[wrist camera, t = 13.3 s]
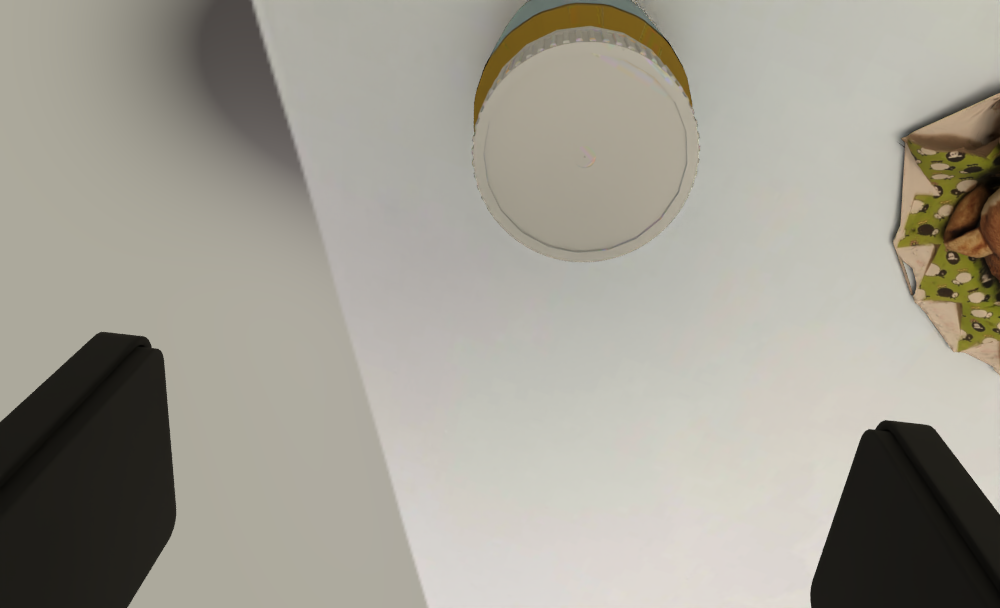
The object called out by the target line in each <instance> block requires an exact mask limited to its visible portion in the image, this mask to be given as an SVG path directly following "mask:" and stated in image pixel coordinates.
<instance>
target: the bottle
mask: <svg viewBox="0 0 1000 608" xmlns="http://www.w3.org/2000/svg"><path fill="white" fill-rule="evenodd" d="M693 115H694V110H693V108H692V100H691V95H690V90H689V85H688V80H687V76H686V74H685V71H684V69H683V66H682V64H681V63H680V61H679V59H678V57H677V56H676V54H675V52H674V50H673V49H672V47H671V45H670V44H669V42H668V41H667V40H666V39H665V38H664V36H663V35H662V34H661V33H660V32H659V30H658V29H657V28H656V27H655V26H654V24H653V23H652V22H651V21H650V20H649V18H648V17H647V16H646V15H645V14H644V12H643V11H642V10H641V9H640V8H639V7H638V6H636V5H635V4H634V3H633V2H632V1H631V0H530V1H529V2H527V3H526V4H525V5H523V6H522V7H521V8H520V9H519V10H518V12H517V13H516V14H515V16H514V17H513V18H512V20H511V21H510V22H509V24H508V25H507V26H506V28H505V30H504V32H503V33H502V35H501V37H500V39H499V41H498V43H497V45H496V46H495V48H494V50H493V52H492V54H491V56H490V57H489V59H488V61H487V63H486V65H485V67H484V70H483V73H482V76H481V79H480V82H479V85H478V87H477V91H476V95H475V101H474V135H473V139H472V141H473V142H474V145H473V147H472V154H473V161H472V165H473V167H474V170H475V172H474V177H475V178H476V180H477V187H478V189H479V190H480V193H481V195H482V196H481V198H482V200H483V201H484V202H485V204H486V206H487V209H488V210H489V211H490V213H491V214H492V216H493V217H494V219H495V220H496V221H497V222H498V223H499V225H500V226H501V227H502V228H503V229H504V230H505V231H506V232H507V233H508V234H509V235H510V236H512V237H513V238H514V239H515V240H517V241H518V242H520V243H521V244H523V245H524V246H526V247H528V248H529V249H531V250H533V251H535V252H537V253H540V254H542V255H545V256H548V257H551V258H555V259H559V260H564V261H571V262H595V261H603V260H608V259H612V258H616V257H619V256H622V255H625V254H627V253H630V252H632V251H634V250H636V249H638V248H640V247H641V246H643V245H645V244H646V243H648V242H649V241H651V240H652V239H654V238H655V237H656V236H657V235H659V234H660V233H661V232H662V231H663V230H664V229H665V228H666V227H667V226H668V225H669V224H670V223H671V222H672V220H673V219H674V218H675V217H676V215H677V214H678V213H679V211H680V210H681V208H682V207H683V205H684V203H685V201H686V199H687V198H688V196H689V193H690V191H691V188H692V187H693V184H694V183H693V182H694V179H695V176H696V174H697V165H698V163H699V158H698V155H699V151H700V146H699V144H698V139H699V138H700V137H699V133H698V131H697V128H696V127H697V125H698V124H697V120H696V119H695V117H694V116H693Z"/></svg>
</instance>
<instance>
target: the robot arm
mask: <svg viewBox="0 0 1000 608" xmlns="http://www.w3.org/2000/svg"><path fill="white" fill-rule="evenodd" d="M168 417H169V416H168V404H167V392H166V380H165V368H164V358H163V354H162V352H161V351H160V350H159V349H154V348H151V344H150V342H149V340H148V339H147V338H146V337H143V336H134V335H126V334H117V333H108V332H100V333H98V334H96V335H95V336H94V337H93V338H92V339H91V340H90V341H88V342H87V343H86V344H85V345H84V346H83V347H82V348H81V349H80V350H79V351H78V352H77V353H75V354H74V355H73V356H72V357H71V358H70V359H69V360H68V361H67V362H66V363H64V364H63V365H62V366H61V367H60V368H59V369H58V370H57V371H56V372H55V373H54V374H52V375H51V376H50V377H49V378H48V379H47V380H46V381H45V382H44V383H43V384H42V385H41V386H39V387H38V388H37V389H36V390H35V391H34V392H33V393H32V394H31V395H30V396H29V397H27V398H26V399H25V400H24V401H23V402H22V403H21V404H20V405H19V406H17V408H15V409H14V410H13V411H12V412H11V413H10V414H9V415H8V416H7V417H6V418H4V419H3V420H2V421H1V422H0V608H127V607H128V606H129V604H130V602H131V601H132V599H133V597H134V596H135V594H136V592H137V590H138V589H139V588H140V586H141V584H142V583H143V581H144V579H145V578H146V576H147V574H148V573H149V571H150V570H151V568H152V566H153V565H154V563H155V562H156V560H157V558H158V556H159V555H160V553H161V552H162V550H163V548H164V547H165V545H166V544H167V542H168V540H169V538H170V536H171V534H172V531H173V529H174V525H175V519H176V501H175V489H174V477H173V464H172V452H171V440H170V428H169V418H168ZM810 597H811V608H1000V514H999V513H998V512H997V510H996V509H995V508H994V507H993V505H992V504H991V503H990V501H989V500H988V499H987V497H986V496H985V495H984V493H983V492H982V491H981V489H980V488H979V487H978V486H977V484H976V483H975V482H974V480H973V479H972V478H971V476H970V475H969V474H968V472H967V471H966V470H965V468H964V467H963V466H962V464H961V463H960V462H959V461H958V459H957V458H956V457H955V455H954V454H953V453H952V451H951V450H950V449H949V447H948V446H947V445H946V443H945V442H944V441H943V439H942V438H941V437H940V436H939V434H938V433H937V432H936V430H935V429H934V428H932V427H931V426H929V425H923V424H914V423H906V422H897V421H888V420H885V421H882V422H881V423H880V424H879V425H878V426H877V427H876V429H875V430H871V429H869V430H866V431H865V432H864V434H863V435H862V437H861V440H860V442H859V445H858V448H857V451H856V454H855V457H854V460H853V463H852V466H851V469H850V472H849V475H848V478H847V481H846V484H845V487H844V490H843V493H842V495H841V498H840V501H839V504H838V507H837V510H836V513H835V516H834V519H833V522H832V525H831V528H830V531H829V534H828V537H827V540H826V543H825V546H824V549H823V552H822V555H821V557H820V560H819V563H818V566H817V569H816V572H815V575H814V578H813V581H812V585H811V593H810Z"/></svg>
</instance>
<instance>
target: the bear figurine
mask: <svg viewBox="0 0 1000 608" xmlns="http://www.w3.org/2000/svg"><path fill="white" fill-rule="evenodd" d="M901 139H902V140H903V141H904V142H905V158H904V175H903V192H902V208H901V225H900V228H899V230H898V232H897V234H896V236H895V238H894V240H893V244H894V247H895V250H896V253H897V255H898V258H899V261H900V264H901V267H902V270H903V273H904V276H905V279H906V282H907V284H908V287H909V290H910V293H911V295H913V292H912V289H911V286H910V282H909V279H908V276H907V273H906V270H905V267H904V264H903V261H904V262H905V263H907V264H908V265H909V266H910V267H911V268H912V269H913V272H914V275H915V279H916V282H917V284H916V291H915V295H914V296H913V298H914V301H915V303H917V304H918V305H919V306H920V307H921V308H922V309H923V310H924V311H925V313H926V314H927V315H928V317H929V318H930V320H931V321H932V322H933V324H934V325H935V327H936V328H937V329H938V331H939V332H940V334H941V335H942V336H943V338H944V339H945V341H946V342H947V343H948V345H949V346H950V348H951V349H952V350H953V352H965V353H967V354H969V355H971V356H973V357H975V358H977V359H979V360H981V361H983V362H985V363H987V364H989V365H991V366H993V367H994V370H995V371H996V372H997V373H998V374H999V375H1000V93H999V94H996V95H994V96H992V97H990V98H987V99H985V100H983V101H981V102H979V103H976V104H974V105H972V106H970V107H967V108H965V109H963V110H961V111H958V112H956V113H954V114H952V115H950V116H947V117H945V118H943V119H941V120H938V121H936V122H934V123H932V124H930V125H927V126H925V127H923V128H921V129H918V130H916V131H914V132H912V133H911V134H909V135H908V136H907V137H902V138H901ZM899 144H900V143H899ZM902 146H903V145H902ZM903 147H904V146H903ZM902 260H903V261H902Z"/></svg>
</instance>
